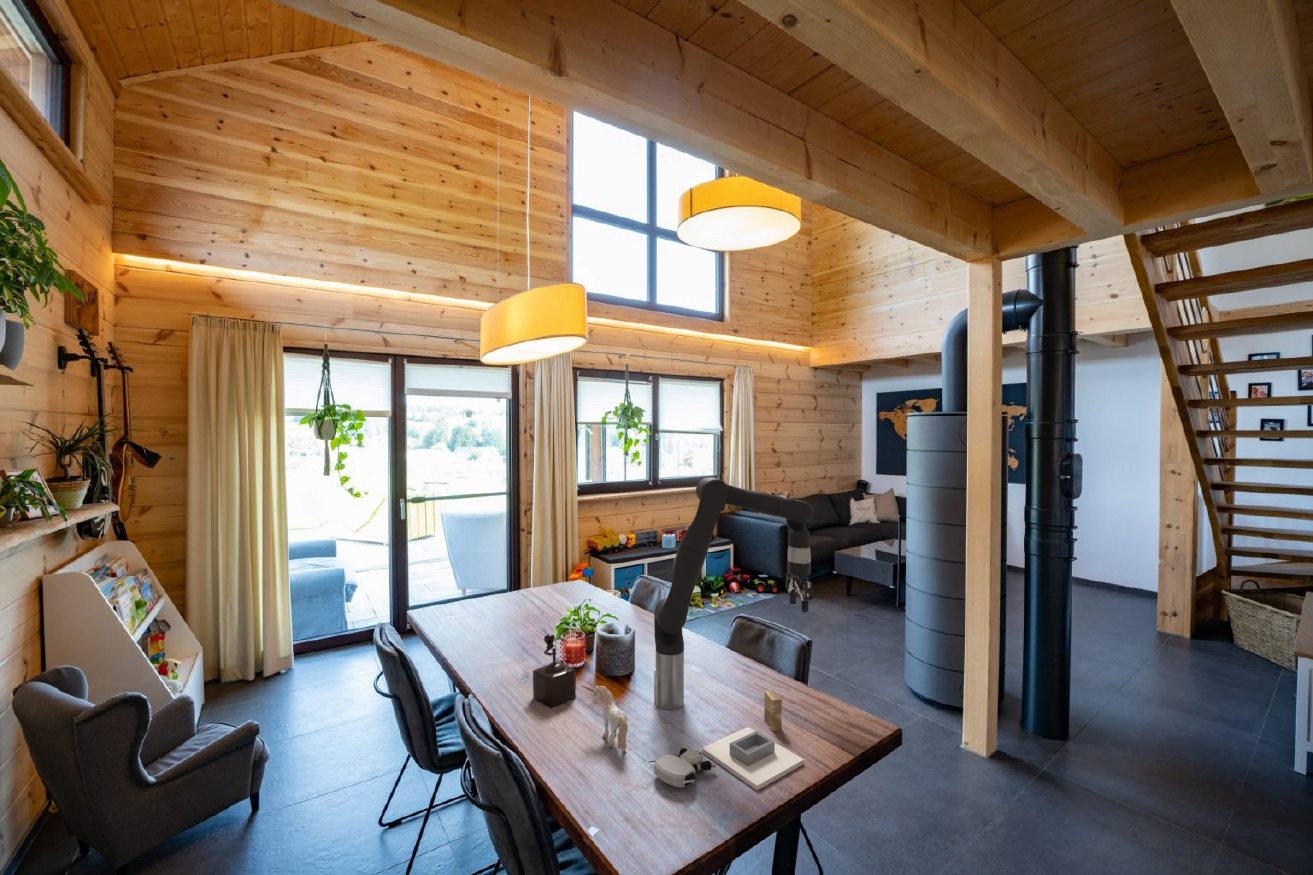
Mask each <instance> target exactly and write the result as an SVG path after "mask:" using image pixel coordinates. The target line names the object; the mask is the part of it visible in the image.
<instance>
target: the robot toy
mask: <svg viewBox="0 0 1313 875" xmlns="http://www.w3.org/2000/svg"><path fill="white" fill-rule="evenodd" d="M646 762H647V763H648V764H649V763H650V764H651V763H653V772H654V775H655V776H656V777H658V779H659V780H660V781H662V782H663V783H665V784H667V785H670V786H672V787H675V788H685V787H688V786H689V785H691V784H693V783H695V781H696V772H699V771H700V770H703V771H711V770H712V768H714V769H715V768H716V767H717V762H715V761H710V760H708V759H707V760H704V753H702V752H699V751H698V750H693V749H689V748H688V747H684V746H683V747H681V748H680V750H679V754H678V755H677V756H676V755H672V754H664V755H663V756H660V757H659V758H656V759H654V760H647V761H646Z"/></svg>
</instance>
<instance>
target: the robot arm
mask: <svg viewBox="0 0 1313 875" xmlns="http://www.w3.org/2000/svg"><path fill="white" fill-rule="evenodd" d="M695 494H696V496H697V498H698V499H699V503H698V505H697V506H698V507H697V511H696V513H695V515H694V518H693V520H692V521H691V523H690V525H689V527H688V528H687V529H686V530H685V533H684V535H682V538H681V541H680V543H679V545H678V549H677V552H676V555H675V559H674V564H673V572H672V579H671V580H672V581H671V585H670V590H669V592H668V595H667V597H664V598H662V599H660V600H659V601H658V602H657V604H656V605H655V608H654V615H653V616H654V617H653V619H654V621H653V624H654V626H653V627H654V629H653V630H654V631H653V632H654V643H655V670H654V673H653V701H654V703H655V707H656V709H662V710H666V711H667V710H668V711H670V710H671V711H673V710H678V709H680V708H682V707H683V706H684V702H685V682H684V681H685V641H684V637H683V627H684V626H685V624H686V621H687V619H688V618H687V617H688V613H689V609H690V606H691V600H692V596H693V593H694V590H695V587H696V585H697V582H698V580H699V578H700V573H701V572H702V569H703V566H704V564H705V561H706V558H707V554H708V551H709V547H710V545H711V541H712V539H713V536H714V533H715V532H714V531H715V529H716V526H717V522H718V520H719V518H720V515H721V513H722V511H723V509H724V507H725V505H728V506H729V505H730V506H734V507H739V508H741V509H746V510H749V511H751V512H756V513H759V514H762V515H763V514H764V515H768V516H772V517H778V518H783V519H785V520H786V525H787V530H788V548H787V572H786V575H785V577H786V578H785V589H786V590H787V592H788V594H789V596H788V598H789V599H788V603H789V604H790V605H796V603H797V593H798V595H799V596H800V598H801V599H800V600H801V601H800V604H801V605H800V610H801V612H802V613H807V612H809V601H813V599H814V598H813V596H814V595H813V582H812V581H808V578H807V577H808V576H810V575H811V566H812V565H811V564H812V563H811V562H812V561H811V560H812V559H811V558H812V556H811V555H812V554H811V534H810V530H808V528H807V526H806V525H807V524H806V523H808V522H810V521H811V520H813V518H814V514H815V511H814V510H815V509H814V508H813V506H812V505H811V504H810V503H809V502H806V501H803V500H799V499H790V498H786V497H784V496H780V495H777V494H773V493H769V492H763V491H757V490H751V489H746V488H740V487H737V486H734V485H730V484H727V483H726V482H725V481H723V480H722V479H720V478H716V477H713V476H712V477H711V476H710V477H704V478H702V479H700V480H699V482H697V484H696V487H695Z"/></svg>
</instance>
